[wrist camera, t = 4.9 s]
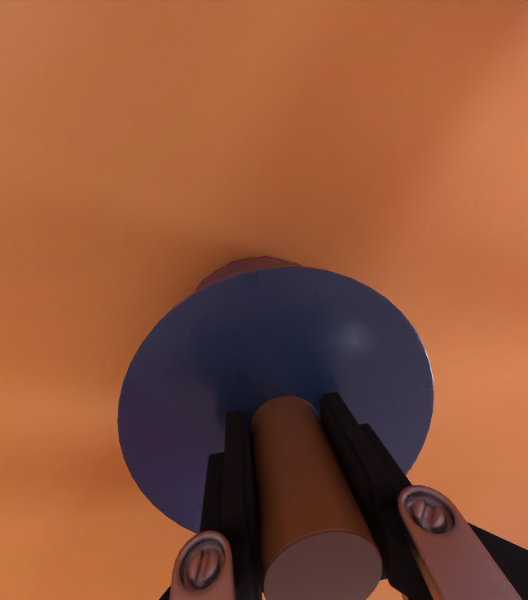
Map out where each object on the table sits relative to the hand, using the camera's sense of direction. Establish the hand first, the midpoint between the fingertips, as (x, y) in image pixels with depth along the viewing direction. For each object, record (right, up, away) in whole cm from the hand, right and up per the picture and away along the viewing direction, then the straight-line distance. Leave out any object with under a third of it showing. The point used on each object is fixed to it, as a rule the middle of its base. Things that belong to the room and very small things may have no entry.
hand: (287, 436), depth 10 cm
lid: (0, 0, +1) cm, 1 cm away
